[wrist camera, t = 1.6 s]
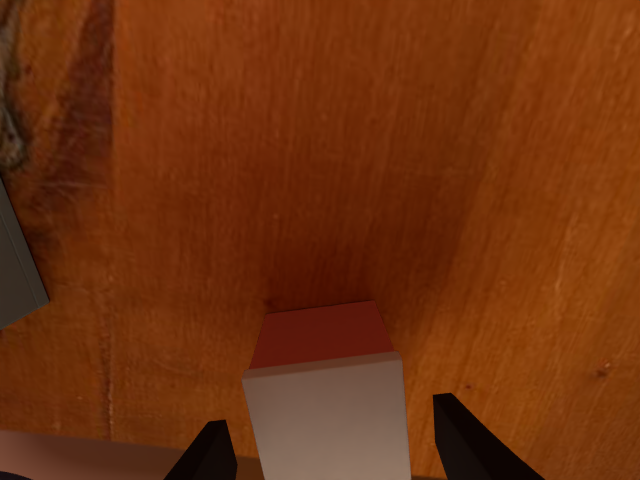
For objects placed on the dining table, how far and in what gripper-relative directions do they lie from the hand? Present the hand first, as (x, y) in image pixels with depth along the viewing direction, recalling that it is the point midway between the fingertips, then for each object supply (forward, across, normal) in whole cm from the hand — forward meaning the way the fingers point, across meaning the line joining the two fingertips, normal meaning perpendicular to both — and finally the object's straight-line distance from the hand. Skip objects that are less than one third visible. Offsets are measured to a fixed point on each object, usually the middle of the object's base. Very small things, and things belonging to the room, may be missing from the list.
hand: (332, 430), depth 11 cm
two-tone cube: (+4, 0, 0) cm, 4 cm away
